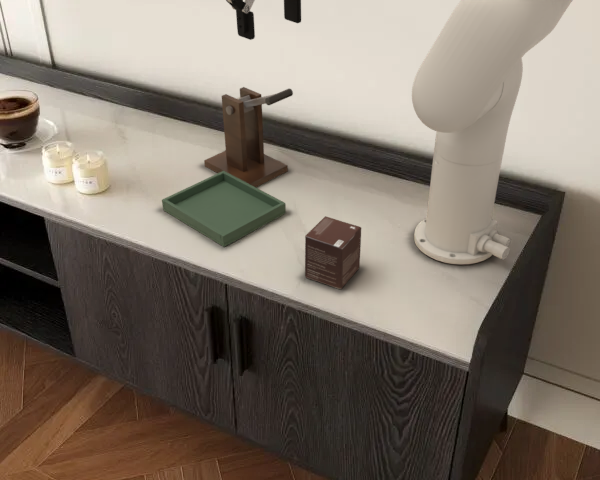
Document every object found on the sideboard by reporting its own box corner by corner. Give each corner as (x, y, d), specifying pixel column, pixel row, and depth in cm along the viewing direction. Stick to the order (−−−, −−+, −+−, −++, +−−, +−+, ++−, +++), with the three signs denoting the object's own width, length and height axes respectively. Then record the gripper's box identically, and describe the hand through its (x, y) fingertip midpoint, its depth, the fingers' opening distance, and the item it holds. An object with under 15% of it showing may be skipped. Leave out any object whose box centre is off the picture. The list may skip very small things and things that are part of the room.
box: (324, 256, 114) (325, 214, 109) (360, 268, 111) (362, 226, 107) (304, 278, 110) (303, 235, 105) (340, 290, 107) (342, 248, 103)
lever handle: (295, 98, 121) (290, 84, 120) (272, 108, 118) (267, 93, 117) (250, 108, 130) (245, 94, 129) (228, 117, 127) (223, 103, 126)
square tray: (285, 213, 123) (285, 202, 122) (224, 247, 116) (223, 236, 115) (224, 180, 132) (223, 170, 130) (163, 210, 124) (161, 199, 123)
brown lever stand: (287, 171, 134) (286, 97, 125) (250, 190, 129) (245, 114, 120) (242, 149, 140) (237, 77, 132) (204, 166, 136) (197, 92, 127)
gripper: (235, -80, 99) (243, 50, 110) (327, -101, 108) (326, 20, 119) (199, -88, 103) (210, 37, 114) (290, -108, 113) (293, 10, 123)
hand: (270, 28), depth 116 cm, fingers open, 9 cm apart
